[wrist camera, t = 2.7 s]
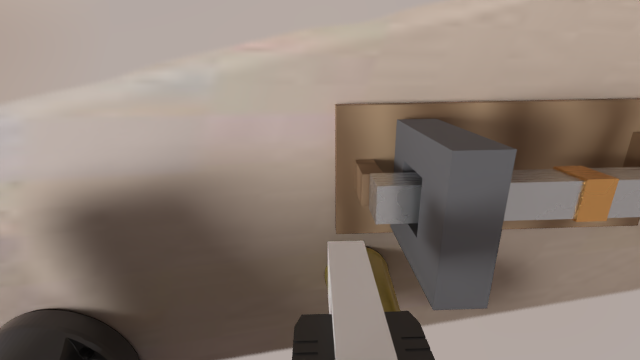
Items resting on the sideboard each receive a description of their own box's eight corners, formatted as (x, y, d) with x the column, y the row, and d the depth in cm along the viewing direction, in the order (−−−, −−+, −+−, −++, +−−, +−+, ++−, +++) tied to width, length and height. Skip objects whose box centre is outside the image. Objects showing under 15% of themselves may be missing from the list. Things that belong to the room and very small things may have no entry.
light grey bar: (368, 208, 23) (375, 227, 20) (369, 170, 22) (377, 184, 19) (664, 201, 24) (711, 218, 21) (678, 163, 23) (729, 175, 20)
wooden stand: (335, 227, 29) (345, 292, 21) (335, 104, 26) (347, 121, 17) (624, 219, 30) (750, 279, 21) (664, 98, 26) (835, 111, 18)
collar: (390, 226, 27) (433, 310, 18) (396, 119, 24) (452, 150, 15) (425, 225, 27) (487, 308, 18) (436, 118, 24) (516, 149, 15)
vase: (400, 265, 31) (471, 417, 17) (362, 308, 32) (400, 480, 19) (348, 234, 29) (381, 372, 16) (312, 281, 31) (313, 443, 18)
